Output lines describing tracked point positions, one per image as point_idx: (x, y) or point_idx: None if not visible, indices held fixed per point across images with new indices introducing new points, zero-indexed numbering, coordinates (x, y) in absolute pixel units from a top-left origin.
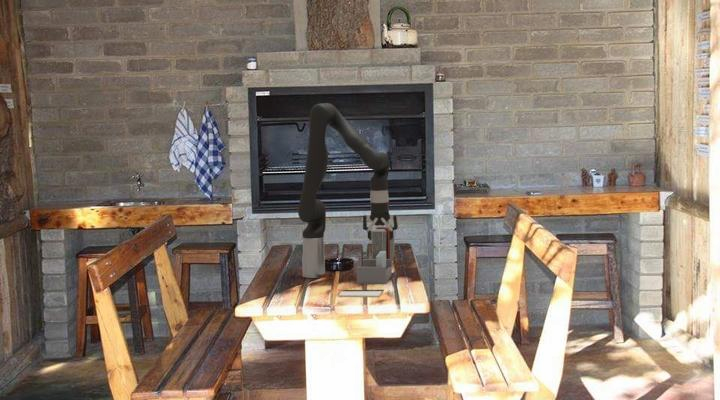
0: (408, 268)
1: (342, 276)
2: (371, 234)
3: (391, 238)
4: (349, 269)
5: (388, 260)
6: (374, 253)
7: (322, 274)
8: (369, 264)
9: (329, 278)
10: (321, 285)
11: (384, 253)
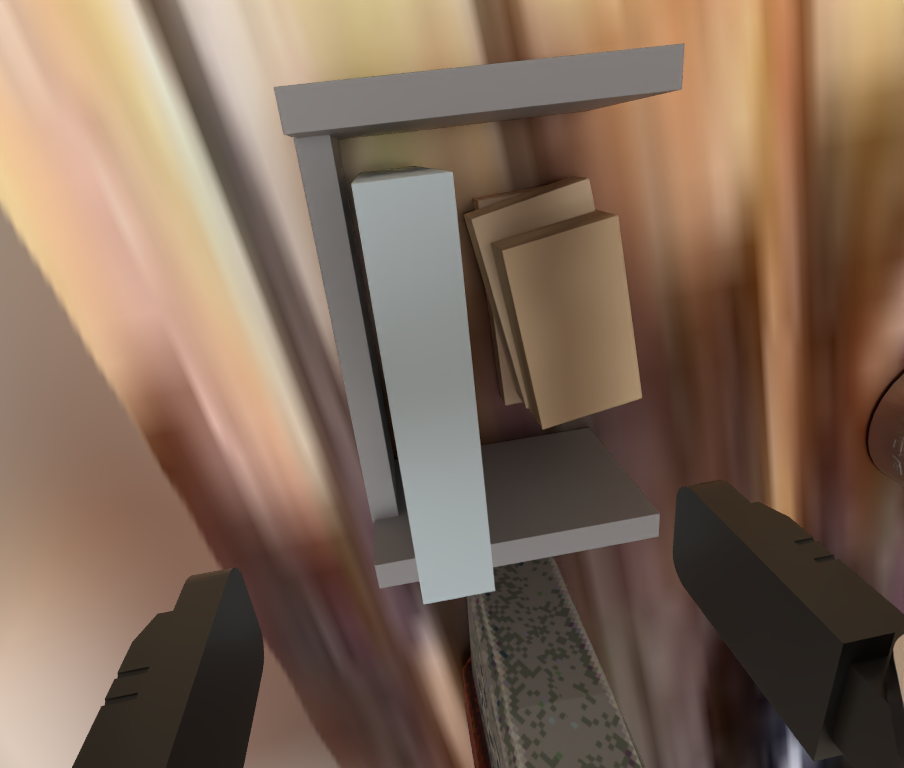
0: (355, 748)
1: (745, 449)
2: (741, 657)
3: (186, 611)
4: (718, 641)
5: (399, 555)
6: (580, 669)
7: (901, 400)
8: (577, 496)
9: (833, 367)
10: (896, 83)
11: (402, 481)
